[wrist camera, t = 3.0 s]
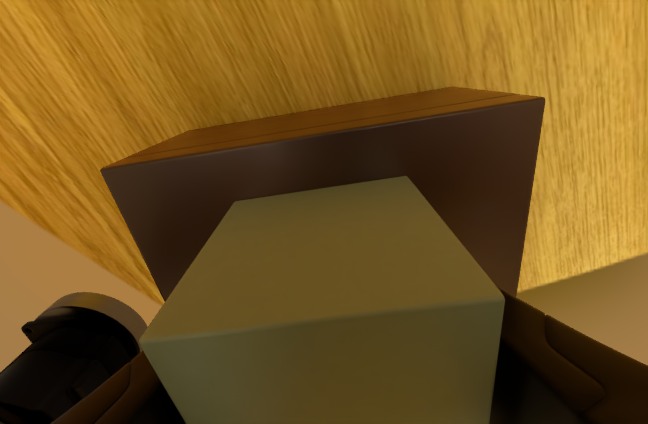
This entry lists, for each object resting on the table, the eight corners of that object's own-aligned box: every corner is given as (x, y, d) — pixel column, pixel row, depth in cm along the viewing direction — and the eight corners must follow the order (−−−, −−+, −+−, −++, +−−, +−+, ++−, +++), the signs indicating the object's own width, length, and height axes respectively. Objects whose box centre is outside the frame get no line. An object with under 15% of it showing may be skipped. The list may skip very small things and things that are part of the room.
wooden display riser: (236, 271, 17) (195, 365, 12) (187, 130, 14) (97, 169, 8) (449, 243, 16) (512, 329, 11) (452, 86, 13) (547, 96, 7)
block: (273, 326, 11) (236, 513, 6) (233, 200, 9) (135, 341, 4) (413, 309, 10) (481, 493, 6) (407, 174, 8) (508, 297, 4)
